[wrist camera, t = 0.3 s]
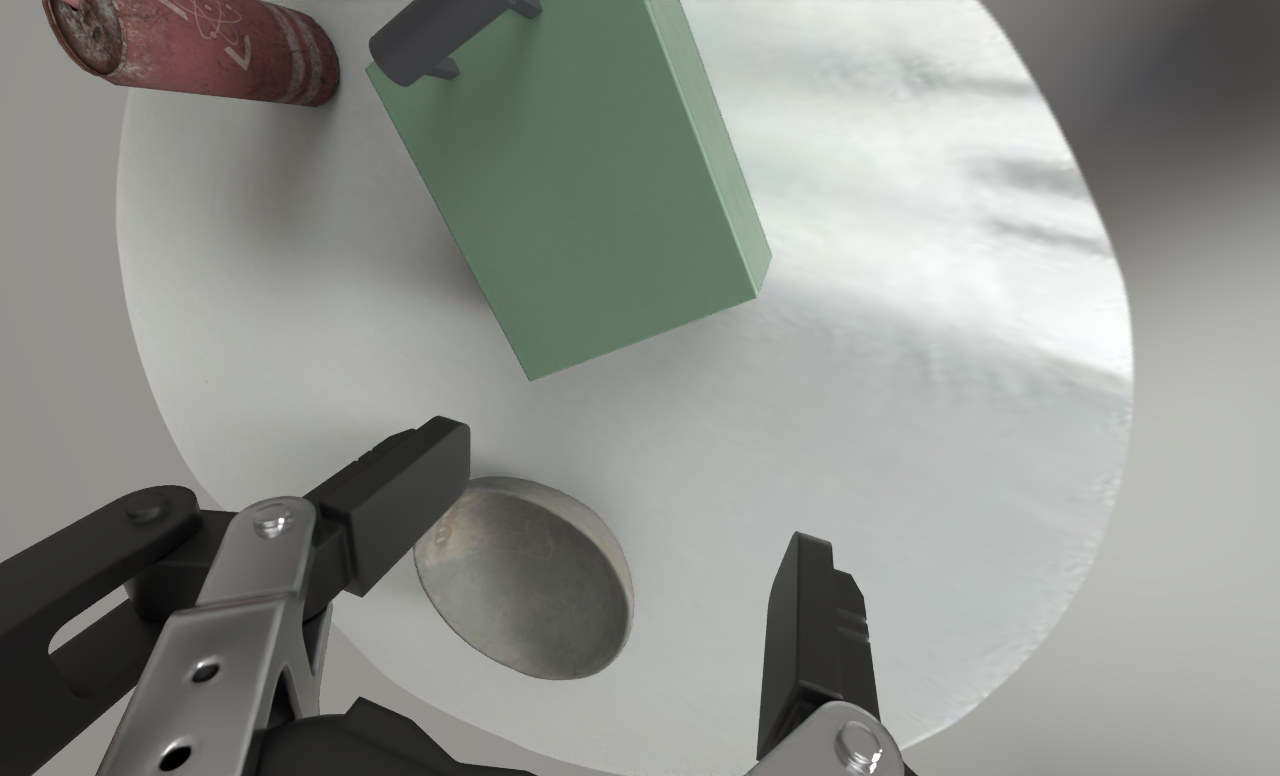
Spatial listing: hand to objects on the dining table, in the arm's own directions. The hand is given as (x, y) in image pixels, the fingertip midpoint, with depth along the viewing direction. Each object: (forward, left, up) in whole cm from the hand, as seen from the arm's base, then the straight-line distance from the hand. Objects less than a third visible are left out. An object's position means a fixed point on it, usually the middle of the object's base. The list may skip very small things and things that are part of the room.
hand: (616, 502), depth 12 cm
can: (-7, -36, -27) cm, 46 cm away
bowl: (+30, -11, -27) cm, 42 cm away
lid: (-5, -9, -16) cm, 19 cm away
